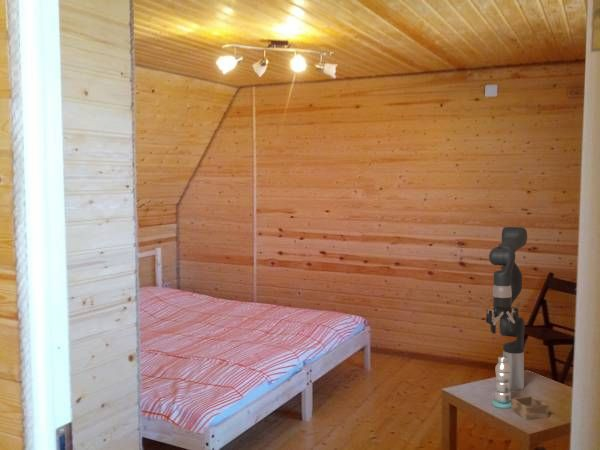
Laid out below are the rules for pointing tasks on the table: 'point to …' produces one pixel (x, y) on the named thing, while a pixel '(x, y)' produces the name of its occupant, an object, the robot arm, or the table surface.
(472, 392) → the table surface
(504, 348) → the robot arm
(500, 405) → the teal coaster
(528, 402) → the walnut holder
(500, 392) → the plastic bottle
